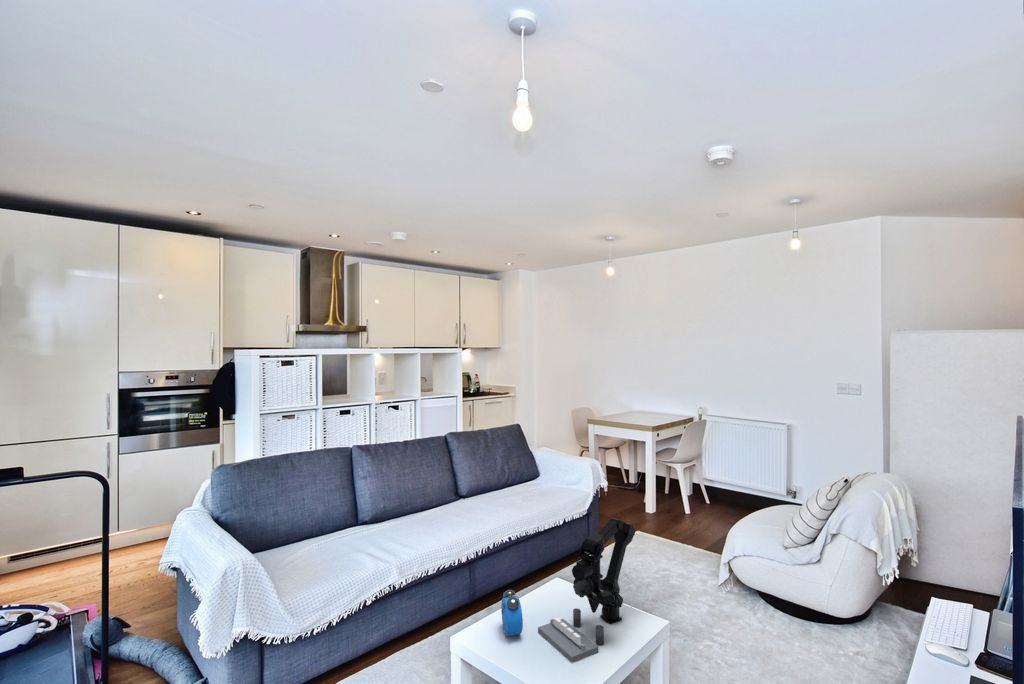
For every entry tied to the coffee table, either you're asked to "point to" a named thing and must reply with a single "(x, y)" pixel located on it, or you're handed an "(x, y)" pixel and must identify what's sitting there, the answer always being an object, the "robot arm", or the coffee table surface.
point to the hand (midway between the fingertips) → (593, 612)
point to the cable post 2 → (599, 635)
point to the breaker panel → (568, 642)
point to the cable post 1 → (577, 618)
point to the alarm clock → (511, 614)
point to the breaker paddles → (567, 631)
